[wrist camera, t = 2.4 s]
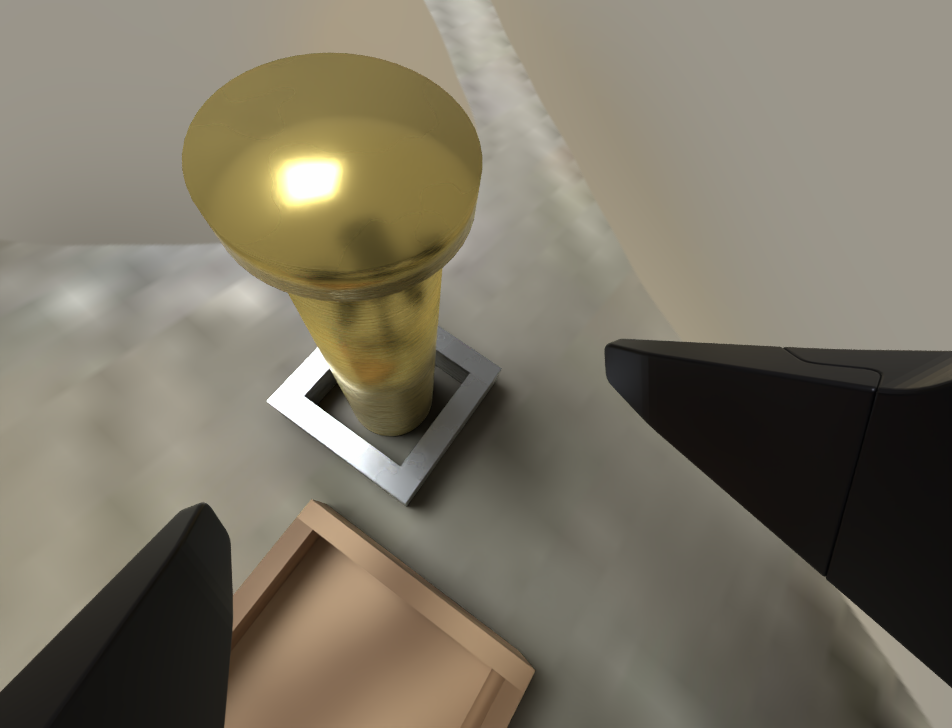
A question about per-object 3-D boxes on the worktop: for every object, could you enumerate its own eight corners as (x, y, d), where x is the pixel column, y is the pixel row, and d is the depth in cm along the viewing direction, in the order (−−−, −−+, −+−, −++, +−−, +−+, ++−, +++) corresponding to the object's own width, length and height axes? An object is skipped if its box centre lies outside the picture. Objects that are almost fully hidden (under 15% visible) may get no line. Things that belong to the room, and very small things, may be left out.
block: (495, 381, 22) (501, 368, 21) (406, 506, 20) (404, 503, 18) (380, 304, 23) (377, 284, 21) (280, 413, 20) (266, 401, 19)
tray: (519, 651, 18) (535, 670, 15) (355, 965, 14) (340, 1061, 12) (326, 503, 19) (311, 499, 17) (127, 755, 15) (67, 799, 13)
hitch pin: (463, 386, 22) (533, 140, 8) (402, 469, 20) (358, 328, 6) (384, 332, 23) (326, 19, 9) (317, 407, 21) (110, 156, 7)
